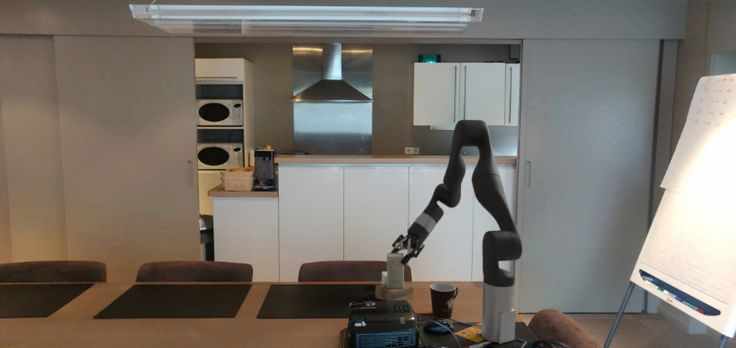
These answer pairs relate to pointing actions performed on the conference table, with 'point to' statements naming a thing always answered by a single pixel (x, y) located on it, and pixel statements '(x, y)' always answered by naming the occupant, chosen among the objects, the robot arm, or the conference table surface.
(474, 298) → the conference table surface
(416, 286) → the conference table surface
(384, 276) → the white cube
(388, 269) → the skincare box
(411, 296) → the walnut block
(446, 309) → the coffee mug
